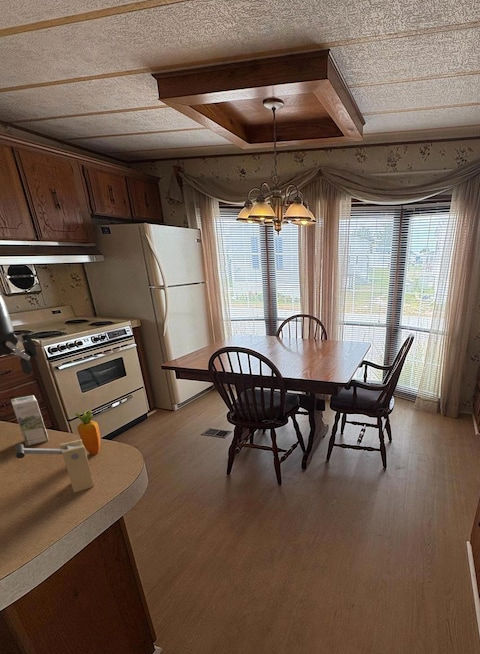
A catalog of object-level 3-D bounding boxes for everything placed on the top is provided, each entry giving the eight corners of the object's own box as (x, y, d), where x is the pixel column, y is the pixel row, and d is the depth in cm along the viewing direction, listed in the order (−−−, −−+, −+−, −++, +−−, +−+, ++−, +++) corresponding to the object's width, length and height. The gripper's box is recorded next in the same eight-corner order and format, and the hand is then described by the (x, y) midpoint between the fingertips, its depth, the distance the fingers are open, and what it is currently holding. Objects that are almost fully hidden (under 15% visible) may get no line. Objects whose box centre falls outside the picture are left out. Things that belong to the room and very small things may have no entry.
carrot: (81, 460, 100) (68, 413, 94) (94, 451, 105) (83, 406, 99) (96, 462, 99) (84, 415, 94) (109, 453, 104) (98, 408, 98)
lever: (14, 460, 75) (16, 450, 74) (14, 451, 78) (16, 441, 78) (81, 460, 83) (83, 451, 83) (78, 452, 87) (80, 443, 87)
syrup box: (46, 434, 113) (33, 394, 107) (49, 441, 109) (36, 399, 104) (24, 440, 109) (9, 398, 104) (26, 447, 105) (11, 404, 100)
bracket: (67, 501, 83) (52, 456, 78) (63, 487, 88) (50, 444, 83) (104, 489, 88) (93, 446, 83) (99, 476, 93) (88, 435, 88)
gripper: (12, 309, 89) (30, 368, 95) (-61, 316, 77) (-35, 384, 83) (31, 312, 87) (48, 373, 93) (-42, 319, 74) (-17, 389, 80)
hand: (9, 378), depth 88 cm, fingers open, 8 cm apart
